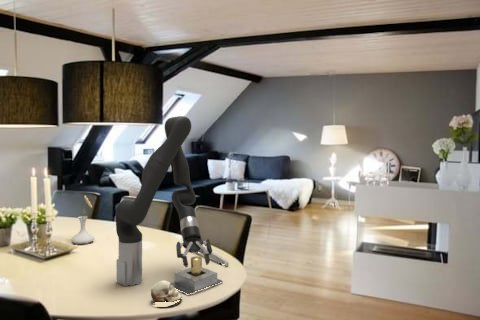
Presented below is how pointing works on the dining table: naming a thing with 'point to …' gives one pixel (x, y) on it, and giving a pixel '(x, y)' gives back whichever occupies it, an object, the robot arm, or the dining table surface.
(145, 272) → the dining table surface
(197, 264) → the brass fitting
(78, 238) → the flower in vase
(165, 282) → the skull
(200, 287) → the grey square holder
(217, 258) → the wrench
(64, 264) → the dining table surface
